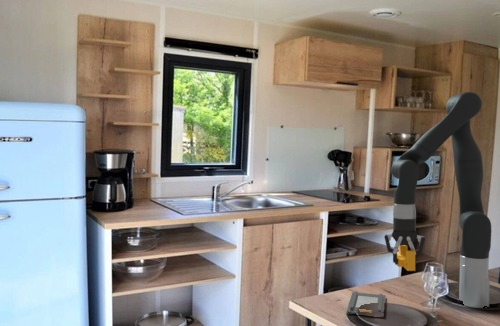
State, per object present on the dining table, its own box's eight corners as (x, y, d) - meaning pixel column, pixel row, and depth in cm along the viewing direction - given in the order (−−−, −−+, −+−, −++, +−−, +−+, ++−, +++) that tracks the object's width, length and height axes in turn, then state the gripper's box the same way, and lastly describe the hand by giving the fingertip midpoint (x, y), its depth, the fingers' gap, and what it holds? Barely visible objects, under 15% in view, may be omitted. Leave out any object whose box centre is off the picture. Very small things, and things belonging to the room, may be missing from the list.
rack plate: (385, 297, 173) (385, 292, 173) (384, 318, 152) (384, 312, 152) (352, 294, 177) (352, 289, 177) (346, 314, 156) (346, 308, 156)
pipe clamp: (394, 262, 171) (394, 244, 171) (406, 262, 171) (406, 244, 171) (402, 270, 160) (402, 251, 159) (415, 270, 159) (415, 251, 159)
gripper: (425, 215, 166) (425, 263, 167) (383, 214, 170) (383, 260, 171) (426, 218, 159) (426, 268, 159) (382, 217, 163) (382, 265, 164)
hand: (404, 264), depth 165 cm, fingers closed on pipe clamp, 5 cm apart
